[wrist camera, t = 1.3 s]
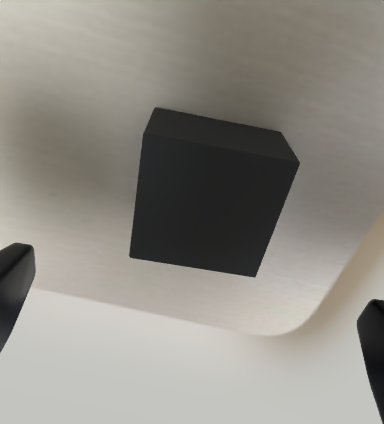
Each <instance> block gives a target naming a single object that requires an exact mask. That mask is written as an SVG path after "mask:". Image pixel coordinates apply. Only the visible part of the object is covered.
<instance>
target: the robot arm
mask: <svg viewBox="0 0 384 424" xmlns="http://www.w3.org/2000/svg"><path fill="white" fill-rule="evenodd" d="M35 271H36V268H35V256H34V248H33V246H31V245H28V244H22V243H14V244H12V245H10V246H8V247H6V248H4V249H2V250H0V352H1V351H2V349H3V347H4V345H5V343H6V342H7V340H8V338H9V336H10V334H11V332H12V329H13V327H14V325H15V323H16V320H17V318H18V315H19V313H20V311H21V308H22V306H23V303H24V301H25V299H26V296H27V294H28V291H29V289H30V287H31V284H32V282H33V280H34V277H35ZM357 330H358V334H359V339H360V343H361V348H362V352H363V357H364V361H365V366H366V370H367V375H368V378H369V382H370V386H371V389H372V392H373V395H374V398H375V401H376V404H377V407H378V411H379V414H380V417H381V420H382V423H383V424H384V300H376V299H373V300H371V301H370V302H369V303H368V304H367V306H366V307H365V309H364V310H363V312H362V313H361V315H360V316H359V318H358V320H357Z"/></svg>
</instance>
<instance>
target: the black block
mask: <svg viewBox="0 0 384 424" xmlns="http://www.w3.org/2000/svg"><path fill="white" fill-rule="evenodd" d="M299 165H300V162H299V160H298V159H297V157H296V156H295V154H294V152H293V151H292V149H291V148H290V146H289V144H288V143H287V141H286V139H285V138H284V136H283V135H282V133H281V132H278V131H273V130H268V129H263V128H258V127H253V126H248V125H243V124H237V123H232V122H227V121H222V120H217V119H212V118H207V117H202V116H197V115H192V114H186V113H181V112H176V111H171V110H166V109H161V108H155V109H154V111H153V113H152V115H151V118H150V120H149V122H148V125H147V127H146V129H145V131H144V134H143V140H142V149H141V158H140V167H139V175H138V184H137V193H136V201H135V210H134V219H133V228H132V236H131V245H130V254H129V256H130V258H135V259H142V260H148V261H154V262H161V263H167V264H173V265H180V266H186V267H192V268H199V269H205V270H211V271H217V272H224V273H230V274H236V275H243V276H249V277H256V274H257V272H258V269H259V267H260V264H261V262H262V259H263V257H264V254H265V251H266V249H267V246H268V244H269V241H270V239H271V236H272V234H273V231H274V228H275V226H276V223H277V221H278V218H279V216H280V213H281V211H282V208H283V206H284V203H285V200H286V198H287V195H288V193H289V190H290V188H291V185H292V183H293V180H294V177H295V175H296V172H297V170H298V167H299Z"/></svg>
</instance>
